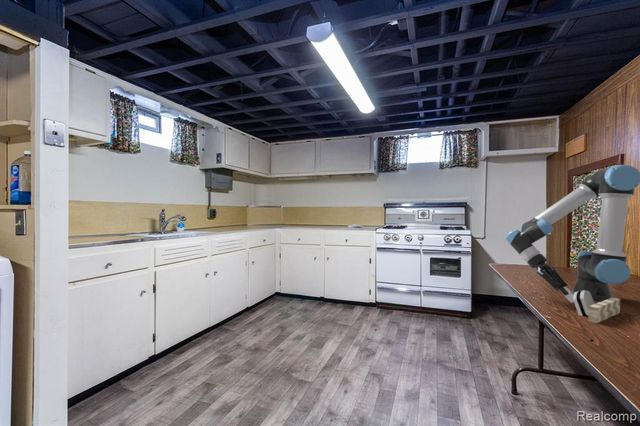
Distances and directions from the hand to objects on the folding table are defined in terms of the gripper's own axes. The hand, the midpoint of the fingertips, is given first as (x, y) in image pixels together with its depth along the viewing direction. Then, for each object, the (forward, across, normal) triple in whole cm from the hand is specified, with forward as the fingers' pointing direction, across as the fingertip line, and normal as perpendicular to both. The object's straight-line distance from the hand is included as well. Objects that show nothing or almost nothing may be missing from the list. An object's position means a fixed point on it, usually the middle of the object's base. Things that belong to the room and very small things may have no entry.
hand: (574, 301), depth 132 cm
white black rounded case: (+6, 0, 0) cm, 6 cm away
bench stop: (+10, +1, +5) cm, 11 cm away
